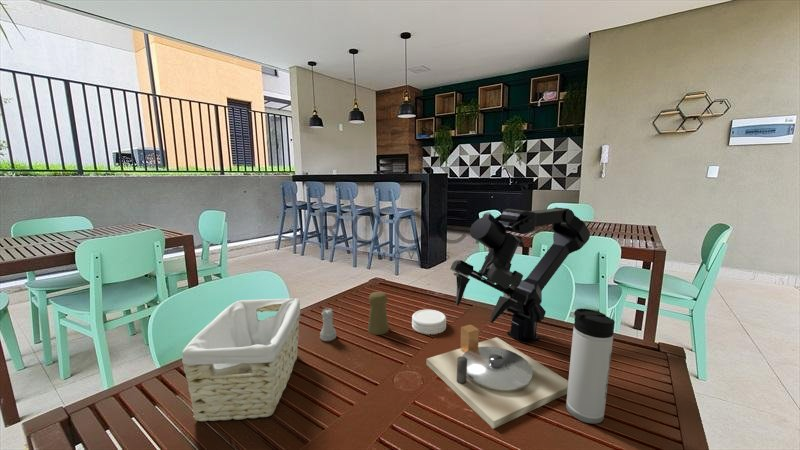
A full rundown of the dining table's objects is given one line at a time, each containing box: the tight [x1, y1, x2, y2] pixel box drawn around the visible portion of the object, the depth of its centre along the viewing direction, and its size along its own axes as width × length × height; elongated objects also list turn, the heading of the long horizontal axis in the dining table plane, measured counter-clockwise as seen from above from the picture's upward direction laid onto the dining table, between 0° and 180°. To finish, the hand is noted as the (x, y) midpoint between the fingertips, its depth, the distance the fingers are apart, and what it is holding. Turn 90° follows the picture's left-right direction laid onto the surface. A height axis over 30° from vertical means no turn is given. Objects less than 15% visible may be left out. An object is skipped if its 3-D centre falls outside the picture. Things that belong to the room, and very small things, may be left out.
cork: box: [367, 291, 390, 336], centre depth 93 cm, size 6×6×11 cm
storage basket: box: [181, 297, 301, 422], centre depth 69 cm, size 24×16×15 cm
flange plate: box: [459, 324, 533, 392], centre depth 73 cm, size 18×15×6 cm
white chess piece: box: [319, 307, 337, 342], centre depth 89 cm, size 4×4×8 cm
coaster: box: [411, 309, 447, 335], centre depth 96 cm, size 10×10×4 cm
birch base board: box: [426, 336, 569, 430], centre depth 72 cm, size 22×22×6 cm
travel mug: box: [565, 308, 616, 425], centre depth 60 cm, size 6×7×20 cm
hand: (473, 313), depth 79 cm, fingers open, 9 cm apart
